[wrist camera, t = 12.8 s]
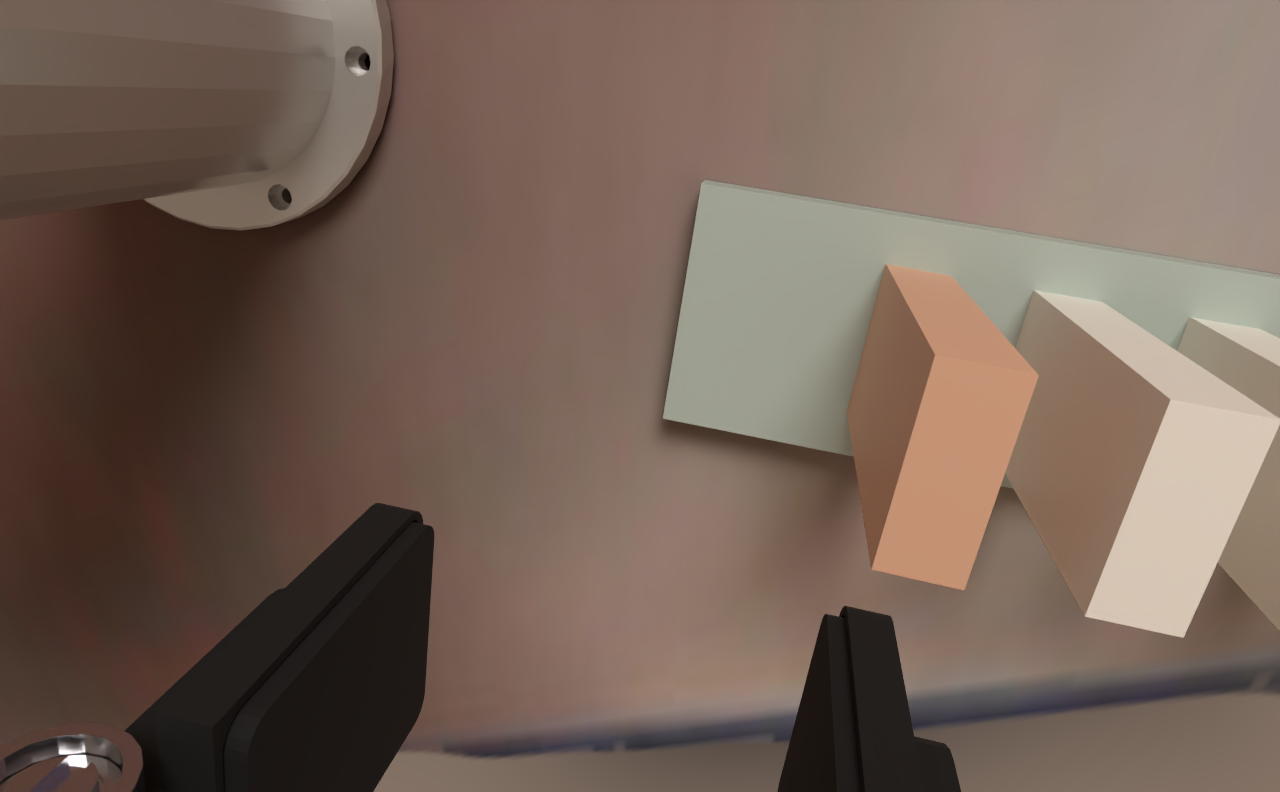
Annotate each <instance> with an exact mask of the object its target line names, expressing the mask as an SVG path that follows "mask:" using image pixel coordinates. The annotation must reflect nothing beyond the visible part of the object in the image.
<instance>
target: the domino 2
mask: <svg viewBox="0 0 1280 792" xmlns="http://www.w3.org/2000/svg"><path fill="white" fill-rule="evenodd" d="M1015 349H1016V350H1017V351H1018V352H1019V353H1020V354H1021V356H1022V357H1023V358H1024V359H1025V360H1026V361H1027V362H1028V363H1029V365H1030V366H1031V367H1032V368H1033V369H1034V370H1035V371H1036V373H1037V374H1038V375H1039V377H1038V380H1037V383H1036V385H1035V388H1034V391H1033V394H1032V397H1031V400H1030V403H1029V406H1028V409H1027V411H1026V414H1025V417H1024V420H1023V423H1022V426H1021V429H1020V432H1019V434H1018V437H1017V440H1016V443H1015V446H1014V449H1013V452H1012V455H1011V458H1010V460H1009V463H1008V466H1007V469H1006V472H1005V474H1006V476H1007V478H1008V479H1009V481H1010V483H1011V485H1012V487H1013V488H1014V490H1015V492H1016V494H1017V496H1018V497H1019V499H1020V501H1021V503H1022V505H1023V506H1024V508H1025V510H1026V512H1027V514H1028V515H1029V517H1030V519H1031V521H1032V523H1033V524H1034V526H1035V528H1036V530H1037V531H1038V533H1039V535H1040V537H1041V539H1042V540H1043V542H1044V544H1045V546H1046V548H1047V549H1048V551H1049V553H1050V555H1051V557H1052V558H1053V560H1054V562H1055V564H1056V566H1057V567H1058V569H1059V571H1060V573H1061V575H1062V576H1063V578H1064V580H1065V582H1066V584H1067V585H1068V587H1069V589H1070V591H1071V593H1072V594H1073V596H1074V598H1075V600H1076V601H1077V603H1078V605H1079V607H1080V609H1081V610H1082V612H1083V614H1084V616H1085V617H1090V618H1094V619H1099V620H1104V621H1108V622H1113V623H1117V624H1122V625H1127V626H1131V627H1136V628H1141V629H1145V630H1150V631H1154V632H1159V633H1164V634H1168V635H1173V636H1178V637H1182V638H1184V636H1185V634H1186V631H1187V629H1188V627H1189V625H1190V622H1191V620H1192V618H1193V616H1194V614H1195V611H1196V609H1197V607H1198V605H1199V602H1200V600H1201V598H1202V596H1203V594H1204V591H1205V589H1206V587H1207V585H1208V583H1209V580H1210V578H1211V576H1212V574H1213V571H1214V569H1215V567H1216V565H1217V563H1218V560H1219V558H1220V556H1221V554H1222V552H1223V549H1224V547H1225V545H1226V543H1227V540H1228V538H1229V536H1230V534H1231V532H1232V529H1233V527H1234V525H1235V523H1236V521H1237V518H1238V516H1239V514H1240V512H1241V509H1242V507H1243V505H1244V503H1245V501H1246V498H1247V496H1248V494H1249V492H1250V489H1251V487H1252V485H1253V483H1254V481H1255V478H1256V476H1257V474H1258V472H1259V470H1260V467H1261V465H1262V463H1263V461H1264V458H1265V456H1266V454H1267V452H1268V450H1269V447H1270V445H1271V443H1272V441H1273V439H1274V436H1275V434H1276V432H1277V430H1278V427H1279V425H1280V418H1278V417H1277V416H1275V415H1274V414H1272V413H1270V412H1269V411H1267V410H1266V409H1264V408H1263V407H1261V406H1260V405H1258V404H1257V403H1255V402H1254V401H1252V400H1251V399H1249V398H1248V397H1246V396H1245V395H1243V394H1242V393H1240V392H1239V391H1237V390H1235V389H1234V388H1232V387H1231V386H1229V385H1228V384H1226V383H1225V382H1223V381H1222V380H1220V379H1219V378H1217V377H1216V376H1214V375H1213V374H1211V373H1210V372H1208V371H1207V370H1205V369H1204V368H1202V367H1201V366H1199V365H1197V364H1196V363H1194V362H1193V361H1191V360H1190V359H1188V358H1187V357H1185V356H1184V355H1182V354H1181V353H1179V352H1178V351H1176V350H1175V349H1173V348H1172V347H1170V346H1169V345H1167V344H1166V343H1164V342H1163V341H1161V340H1159V339H1158V338H1156V337H1155V336H1153V335H1152V334H1150V333H1149V332H1147V331H1146V330H1144V329H1143V328H1141V327H1140V326H1138V325H1137V324H1135V323H1134V322H1132V321H1131V320H1129V319H1128V318H1126V317H1125V316H1123V315H1121V314H1120V313H1118V312H1117V311H1115V310H1114V309H1112V308H1111V307H1109V306H1108V305H1106V304H1105V303H1103V302H1100V301H1094V300H1088V299H1083V298H1077V297H1071V296H1065V295H1059V294H1054V293H1048V292H1042V291H1036V290H1034V291H1033V294H1032V297H1031V300H1030V303H1029V307H1028V310H1027V313H1026V316H1025V319H1024V322H1023V326H1022V329H1021V332H1020V335H1019V338H1018V341H1017V344H1016V348H1015Z"/></svg>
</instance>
